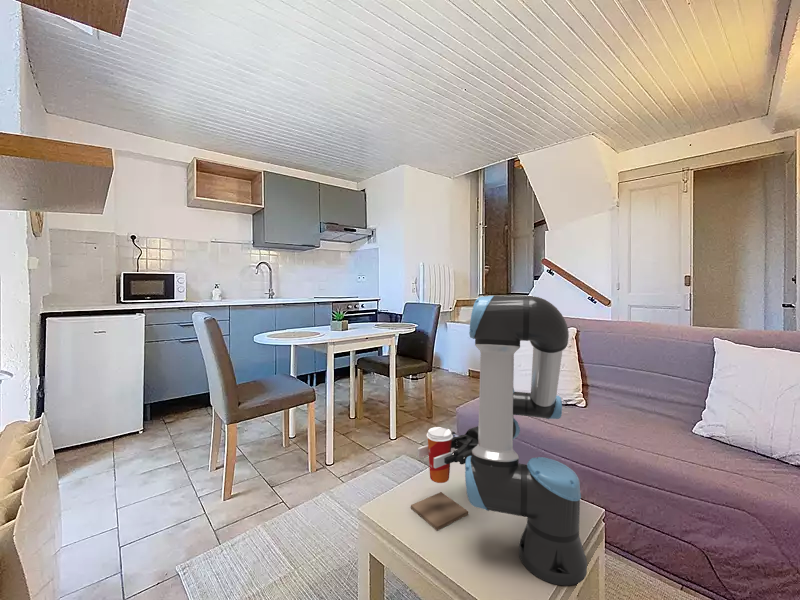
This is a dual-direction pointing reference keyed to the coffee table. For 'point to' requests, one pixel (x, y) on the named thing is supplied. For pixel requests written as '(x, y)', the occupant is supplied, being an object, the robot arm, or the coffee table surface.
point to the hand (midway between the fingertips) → (426, 457)
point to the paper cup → (439, 452)
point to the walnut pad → (439, 510)
